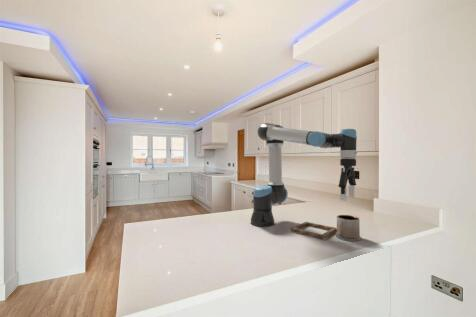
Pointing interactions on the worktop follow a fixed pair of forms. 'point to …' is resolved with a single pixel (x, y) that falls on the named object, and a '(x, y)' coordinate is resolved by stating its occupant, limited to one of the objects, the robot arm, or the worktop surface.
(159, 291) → the worktop surface
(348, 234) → the planter
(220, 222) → the worktop surface
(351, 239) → the slate trivet
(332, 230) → the holder frame
